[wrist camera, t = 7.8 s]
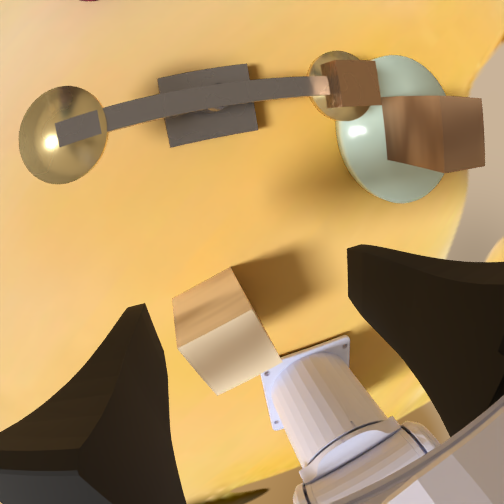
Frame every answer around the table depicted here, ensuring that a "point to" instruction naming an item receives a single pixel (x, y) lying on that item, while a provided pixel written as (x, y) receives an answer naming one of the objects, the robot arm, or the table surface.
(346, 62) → the balance
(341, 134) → the dish
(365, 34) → the table surface
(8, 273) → the table surface
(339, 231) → the table surface
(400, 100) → the walnut block
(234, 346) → the maple block
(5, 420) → the table surface
